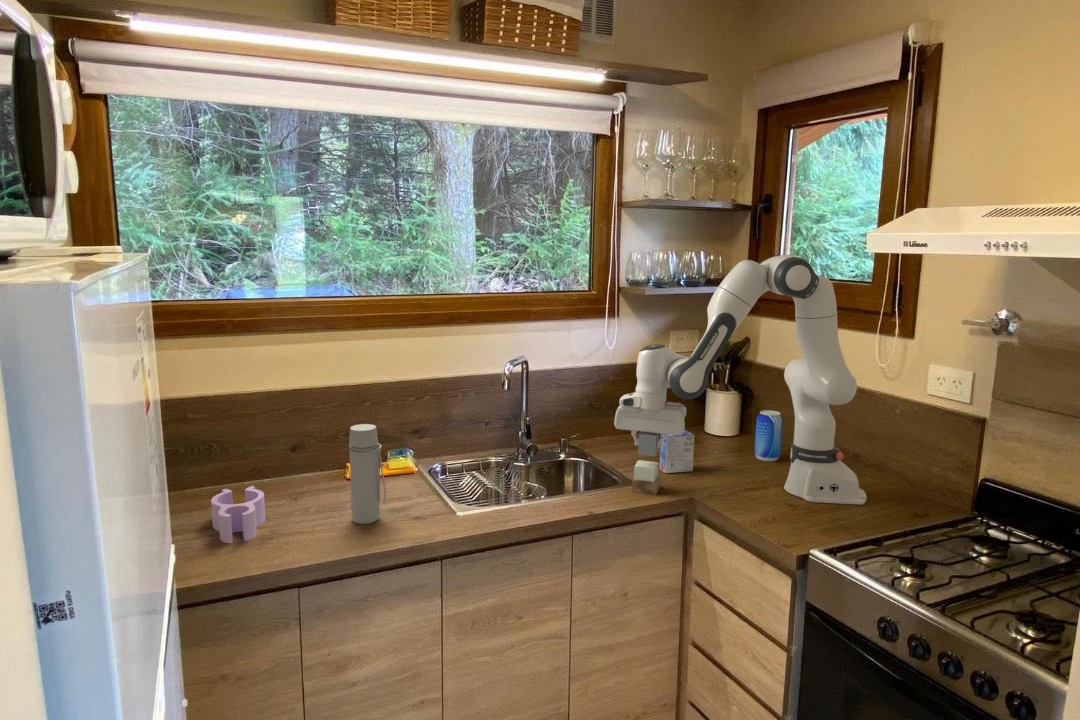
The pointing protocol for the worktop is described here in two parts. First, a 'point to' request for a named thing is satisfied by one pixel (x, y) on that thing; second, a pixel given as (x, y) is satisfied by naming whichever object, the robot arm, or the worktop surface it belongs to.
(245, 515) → the clip
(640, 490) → the tower base
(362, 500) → the water bottle
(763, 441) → the beer can
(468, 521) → the worktop surface
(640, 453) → the grey block
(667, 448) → the ink cartridge box
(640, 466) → the cream square block
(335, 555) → the worktop surface
